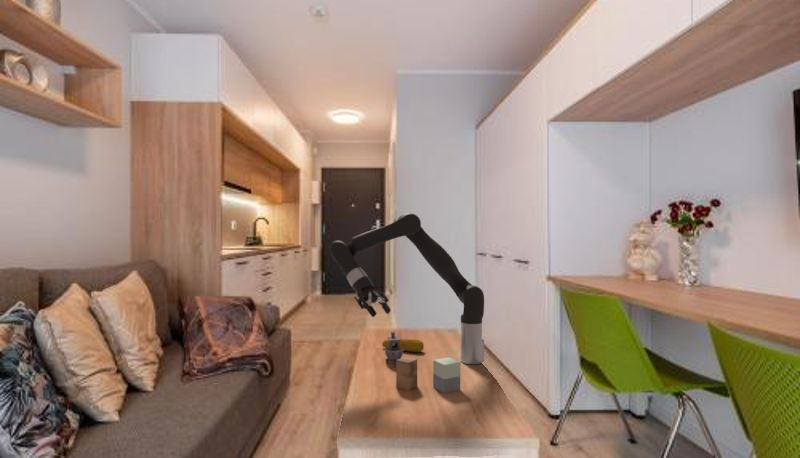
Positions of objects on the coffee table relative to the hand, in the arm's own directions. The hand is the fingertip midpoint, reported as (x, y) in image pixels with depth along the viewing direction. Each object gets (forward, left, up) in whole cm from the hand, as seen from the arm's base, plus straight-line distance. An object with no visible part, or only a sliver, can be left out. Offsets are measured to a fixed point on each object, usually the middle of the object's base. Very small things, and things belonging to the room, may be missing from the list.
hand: (382, 313), depth 164 cm
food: (-27, -34, -26) cm, 50 cm away
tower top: (-17, +19, -20) cm, 32 cm away
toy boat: (-15, -19, -26) cm, 35 cm away
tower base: (-17, +19, -25) cm, 36 cm away
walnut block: (-5, +11, -25) cm, 28 cm away
